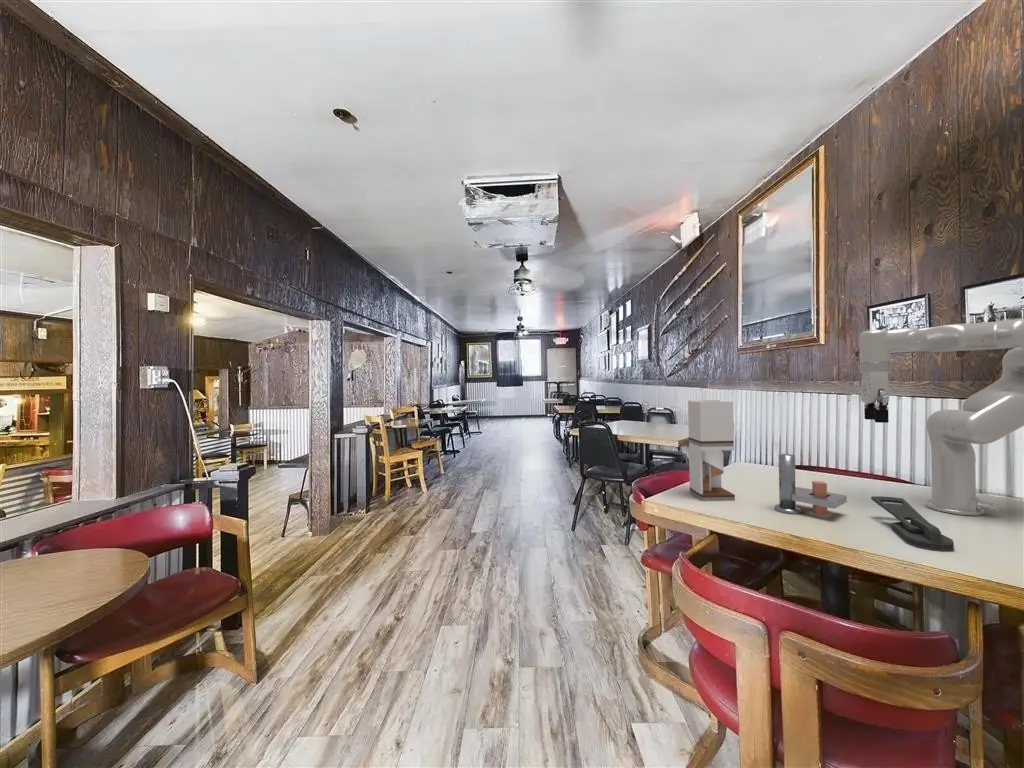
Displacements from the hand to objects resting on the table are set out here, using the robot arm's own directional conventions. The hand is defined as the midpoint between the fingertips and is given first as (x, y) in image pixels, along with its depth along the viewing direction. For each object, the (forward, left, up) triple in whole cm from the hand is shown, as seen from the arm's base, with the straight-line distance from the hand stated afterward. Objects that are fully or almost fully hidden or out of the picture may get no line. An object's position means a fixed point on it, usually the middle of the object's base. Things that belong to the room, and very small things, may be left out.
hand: (876, 420), depth 132 cm
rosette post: (+12, +22, -28) cm, 38 cm away
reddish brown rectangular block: (+9, +21, -28) cm, 36 cm away
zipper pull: (-11, +21, -29) cm, 37 cm away
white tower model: (+40, +28, -28) cm, 57 cm away
